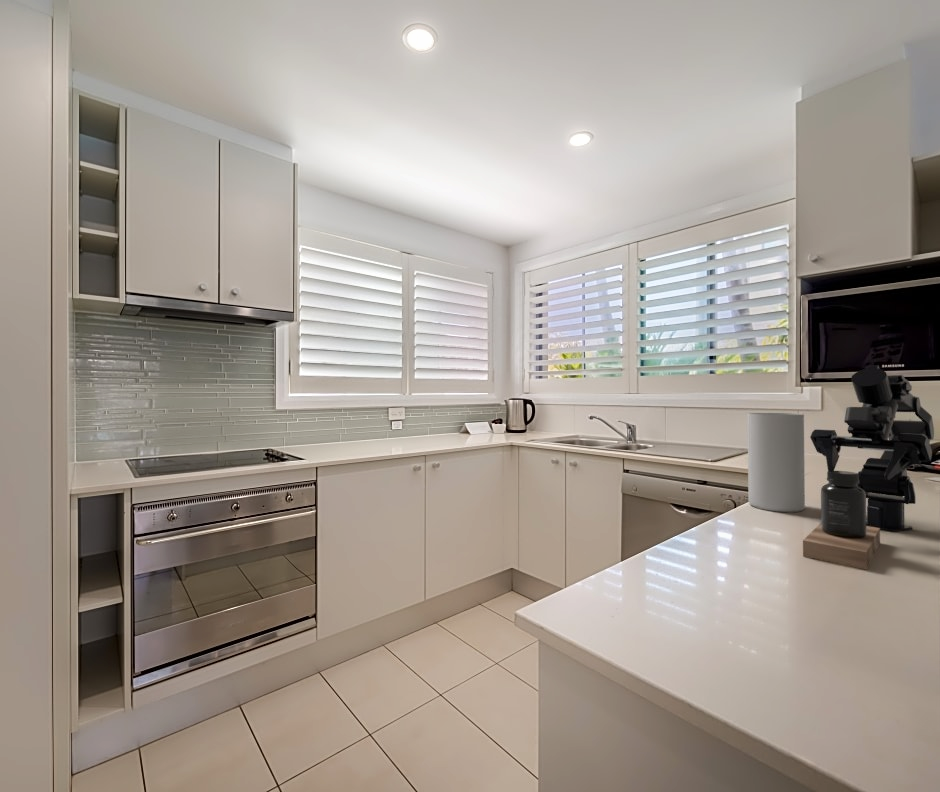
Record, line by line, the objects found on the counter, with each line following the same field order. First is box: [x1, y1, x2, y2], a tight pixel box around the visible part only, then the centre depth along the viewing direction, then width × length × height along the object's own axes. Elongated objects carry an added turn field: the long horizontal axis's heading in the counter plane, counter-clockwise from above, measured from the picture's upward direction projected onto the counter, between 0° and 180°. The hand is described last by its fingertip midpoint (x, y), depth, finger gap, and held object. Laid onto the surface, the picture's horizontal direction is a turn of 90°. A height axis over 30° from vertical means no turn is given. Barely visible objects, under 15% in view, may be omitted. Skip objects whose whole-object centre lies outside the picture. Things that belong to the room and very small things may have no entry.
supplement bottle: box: [820, 470, 867, 538], centre depth 88 cm, size 7×7×12 cm
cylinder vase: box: [747, 412, 806, 513], centre depth 122 cm, size 12×12×25 cm
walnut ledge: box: [802, 522, 881, 570], centre depth 88 cm, size 20×9×3 cm, turn 133°
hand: (856, 475), depth 92 cm, fingers open, 9 cm apart
